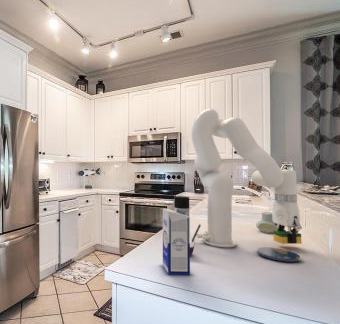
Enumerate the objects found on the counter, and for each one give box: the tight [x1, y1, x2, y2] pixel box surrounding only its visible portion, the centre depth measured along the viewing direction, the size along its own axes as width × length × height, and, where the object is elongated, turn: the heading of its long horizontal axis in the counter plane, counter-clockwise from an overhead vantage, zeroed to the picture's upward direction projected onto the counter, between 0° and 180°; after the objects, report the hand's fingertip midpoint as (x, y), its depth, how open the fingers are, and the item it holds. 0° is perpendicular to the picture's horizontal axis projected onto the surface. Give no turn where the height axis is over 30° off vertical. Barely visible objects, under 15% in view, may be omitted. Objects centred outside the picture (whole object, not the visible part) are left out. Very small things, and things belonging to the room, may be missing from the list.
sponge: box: [272, 230, 302, 245], centre depth 106 cm, size 8×5×4 cm, turn 89°
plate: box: [256, 247, 301, 263], centre depth 94 cm, size 13×13×2 cm
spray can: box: [173, 195, 190, 217], centre depth 116 cm, size 7×7×20 cm
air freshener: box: [255, 211, 277, 234], centre depth 131 cm, size 11×8×10 cm
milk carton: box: [162, 207, 191, 276], centre depth 82 cm, size 7×7×20 cm
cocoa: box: [190, 223, 201, 256], centre depth 96 cm, size 10×6×12 cm, turn 49°
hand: (286, 240), depth 106 cm, fingers closed on sponge, 5 cm apart
